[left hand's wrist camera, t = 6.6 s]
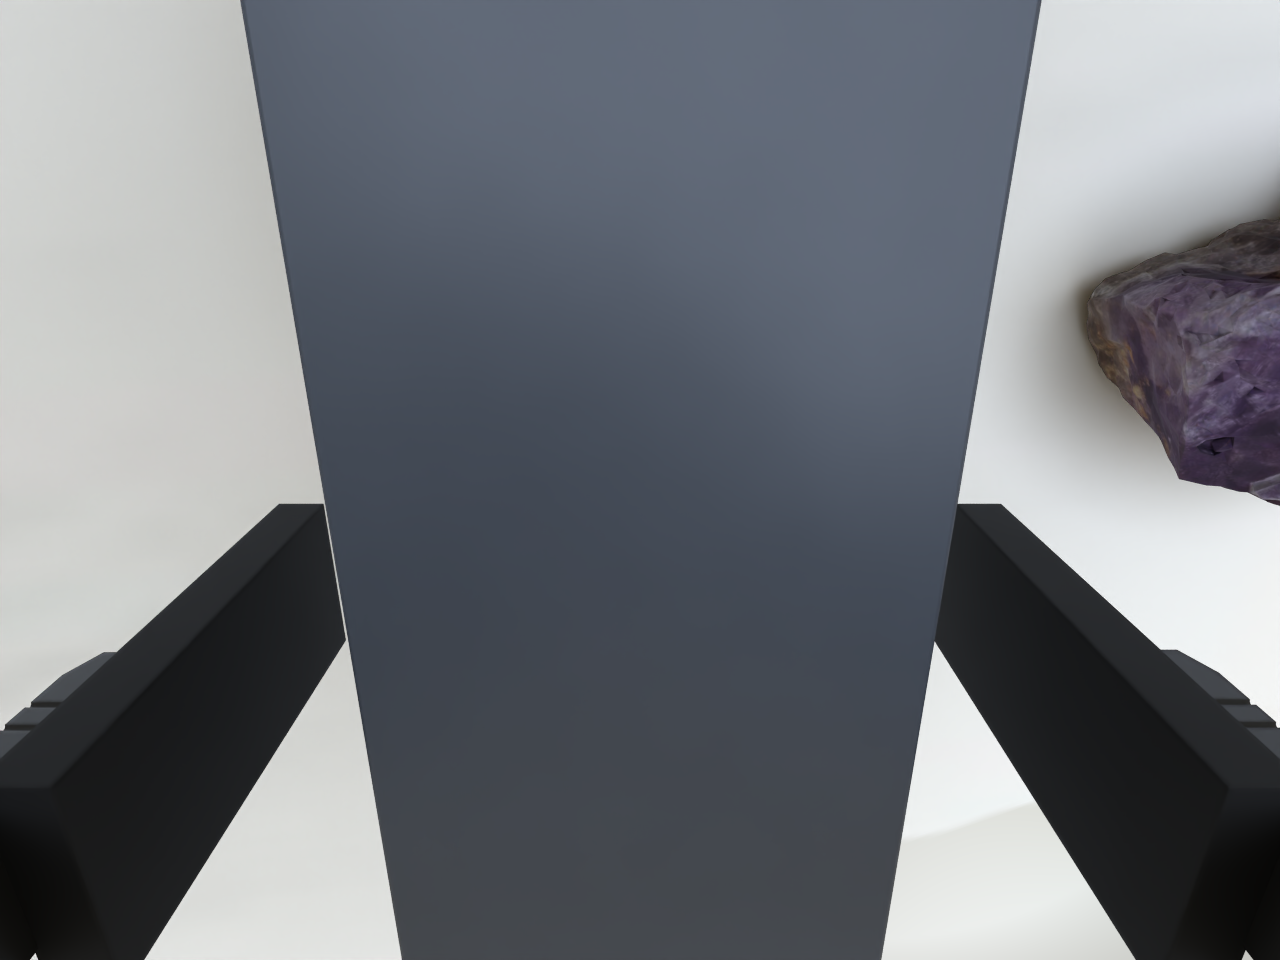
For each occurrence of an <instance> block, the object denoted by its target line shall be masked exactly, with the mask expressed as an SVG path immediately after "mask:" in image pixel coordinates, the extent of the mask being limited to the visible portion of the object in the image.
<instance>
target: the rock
mask: <svg viewBox="0 0 1280 960" xmlns="http://www.w3.org/2000/svg"><path fill="white" fill-rule="evenodd" d="M1087 305H1088V312H1089V316H1088V320H1087V331H1088V338H1089V341H1090V343H1091V345H1092V347H1093V348H1094V350H1095V352H1096V354H1097V358H1098V363H1099V365H1100V367H1101V368H1102V370H1103V372H1104V373H1105V375H1106V376H1107V378H1108V379H1109V380H1111V381H1112V382H1113V383H1114V384H1115V385H1117V386H1118V387H1119V389H1120V391H1121V394H1122V396H1123V398H1124V399H1125V400H1126V401H1127V402H1128V403H1129V404H1130V405H1131V406H1132V407H1133V408H1134V409H1135V410H1136V411H1137V412H1138V414H1139V415H1140V416H1141V417H1142V418H1143V419H1144V421H1145V422H1146V423H1147V424H1148V425H1149V426H1150V427H1151V428H1152V429H1153V430H1154V432H1155V433H1156V434H1157V435H1158V436H1159V438H1160V440H1161V442H1162V444H1163V446H1164V449H1165V451H1166V453H1167V456H1168V458H1169V460H1170V461H1171V463H1172V465H1173V466H1174V468H1175V471H1176V473H1177V475H1178V478H1179V479H1181V480H1186V481H1190V482H1194V483H1199V484H1203V485H1210V486H1221V487H1224V488H1227V489H1231V490H1235V491H1239V492H1248V493H1250V494H1252V495H1254V496H1256V497H1258V498H1260V499H1263V500H1265V501H1267V502H1270V503H1272V504H1275V505H1279V506H1280V219H1279V220H1259V221H1254V222H1249V223H1244V224H1239V225H1238V226H1236V227H1234V228H1233V229H1229V230H1227V231H1226V232H1224V233H1223V234H1221V235H1219V236H1218V237H1216V238H1215V239H1213V240H1211V242H1210V243H1209V244H1208V246H1207V247H1202V248H1197V249H1193V250H1190V251H1186V252H1183V253H1180V254H1176V255H1175V254H1170V253H1163V254H1160V255H1158V256H1156V257H1153V258H1151V259H1148V260H1146V261H1144V262H1142V263H1141V264H1139V265H1138V266H1136V267H1134V268H1133V269H1131V270H1130V271H1126V272H1122V273H1119V274H1117V275H1114V276H1111V277H1108V278H1106V279H1105V280H1104V281H1103V282H1102V283H1101V284H1100V285H1098V286H1097V287H1096V288H1095V290H1094V292H1093V293H1092V295H1091V297H1090V299H1089V301H1088V302H1087Z"/></svg>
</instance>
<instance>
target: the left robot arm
mask: <svg viewBox="0 0 1280 960" xmlns="http://www.w3.org/2000/svg"><path fill="white" fill-rule="evenodd" d="M345 641H346V638H345V632H344V626H343V620H342V613H341V607H340V601H339V595H338V589H337V583H336V577H335V571H334V565H333V559H332V553H331V546H330V540H329V534H328V528H327V522H326V516H325V510H324V504H278V505H277V506H276V507H275V508H274V509H273V510H272V511H271V512H270V513H269V514H268V515H266V516H265V517H264V518H263V519H262V520H261V521H260V522H259V523H258V524H257V525H255V526H254V527H253V528H252V529H251V530H250V531H249V532H248V533H247V534H246V535H245V536H243V537H242V538H241V539H240V540H239V541H238V542H237V543H236V544H235V545H234V546H232V547H231V548H230V549H229V550H228V551H227V552H226V553H225V554H224V555H223V556H222V557H220V558H219V559H218V560H217V561H216V562H215V563H214V564H213V565H212V566H211V567H209V568H208V569H207V570H206V571H205V572H204V573H203V574H202V575H201V576H200V577H199V578H197V579H196V580H195V581H194V582H193V583H192V584H191V585H190V586H189V587H188V588H187V589H185V590H184V591H183V592H182V593H181V594H180V595H179V596H178V597H177V598H176V599H174V600H173V601H172V602H171V603H170V604H169V605H168V606H167V607H166V608H165V609H164V610H162V611H161V612H160V613H159V614H158V615H157V616H156V617H155V618H154V619H153V620H151V621H150V622H149V623H148V624H147V625H146V626H145V627H144V628H143V629H142V630H141V631H139V632H138V633H137V634H136V635H135V636H134V637H133V638H132V639H131V640H130V641H128V642H127V643H126V644H125V645H124V646H123V647H122V648H121V649H120V650H119V651H118V652H104V653H102V654H100V655H98V656H96V657H94V658H93V659H91V660H89V661H87V662H85V663H84V664H82V665H80V666H78V667H76V668H75V669H73V670H71V671H69V672H67V673H65V674H64V675H62V676H61V677H60V678H58V679H57V680H56V681H55V682H54V683H53V684H52V685H50V686H49V687H48V688H47V689H46V690H45V691H43V692H42V693H41V694H40V695H39V696H38V697H37V698H35V699H34V700H33V701H32V702H31V707H30V708H24V709H23V710H22V711H20V712H19V713H18V714H17V715H16V716H15V717H13V718H12V719H11V720H10V721H9V722H8V723H7V724H5V729H4V731H0V960H30V959H31V958H32V956H33V955H34V954H35V953H36V955H37V958H38V960H144V959H145V958H146V956H147V955H148V953H149V951H150V950H151V948H152V947H153V945H154V943H155V942H156V940H157V939H158V937H159V935H160V934H161V932H162V931H163V929H164V928H165V926H166V924H167V923H168V921H169V920H170V918H171V916H172V915H173V913H174V912H175V910H176V909H177V907H178V905H179V904H180V902H181V901H182V899H183V897H184V896H185V894H186V893H187V891H188V890H189V888H190V886H191V885H192V883H193V882H194V880H195V878H196V877H197V875H198V874H199V872H200V871H201V869H202V867H203V866H204V864H205V863H206V861H207V859H208V858H209V856H210V855H211V853H212V852H213V850H214V848H215V847H216V845H217V844H218V842H219V840H220V839H221V837H222V836H223V834H224V833H225V831H226V829H227V828H228V826H229V825H230V823H231V821H232V820H233V818H234V817H235V815H236V814H237V812H238V810H239V809H240V807H241V806H242V804H243V802H244V801H245V799H246V798H247V796H248V795H249V793H250V791H251V790H252V788H253V787H254V785H255V783H256V782H257V780H258V779H259V777H260V775H261V774H262V772H263V771H264V769H265V768H266V766H267V764H268V763H269V761H270V760H271V758H272V756H273V755H274V753H275V752H276V750H277V749H278V747H279V745H280V744H281V742H282V741H283V739H284V737H285V736H286V734H287V733H288V731H289V730H290V728H291V726H292V725H293V723H294V722H295V720H296V718H297V717H298V715H299V714H300V712H301V711H302V709H303V707H304V706H305V704H306V703H307V701H308V699H309V698H310V696H311V695H312V693H313V692H314V690H315V688H316V687H317V685H318V684H319V682H320V680H321V679H322V677H323V676H324V674H325V673H326V671H327V669H328V668H329V666H330V665H331V663H332V661H333V660H334V658H335V657H336V655H337V654H338V652H339V650H340V649H341V647H342V646H343V644H344V642H345ZM935 642H936V644H937V646H938V647H939V649H940V650H941V652H942V654H943V655H944V657H945V658H946V660H947V661H948V663H949V665H950V666H951V668H952V669H953V671H954V673H955V674H956V676H957V677H958V679H959V680H960V682H961V684H962V685H963V687H964V688H965V690H966V692H967V693H968V695H969V696H970V698H971V699H972V701H973V703H974V704H975V706H976V707H977V709H978V711H979V712H980V714H981V715H982V717H983V718H984V720H985V722H986V723H987V725H988V726H989V728H990V730H991V731H992V733H993V734H994V736H995V738H996V739H997V741H998V742H999V744H1000V745H1001V747H1002V749H1003V750H1004V752H1005V753H1006V755H1007V757H1008V758H1009V760H1010V761H1011V763H1012V764H1013V766H1014V768H1015V769H1016V771H1017V772H1018V774H1019V776H1020V777H1021V779H1022V780H1023V782H1024V783H1025V785H1026V787H1027V788H1028V790H1029V791H1030V793H1031V795H1032V796H1033V798H1034V799H1035V801H1036V802H1037V804H1038V806H1039V807H1040V809H1041V810H1042V812H1043V813H1044V815H1045V817H1046V818H1047V820H1048V821H1049V823H1050V825H1051V826H1052V828H1053V829H1054V831H1055V833H1056V834H1057V836H1058V837H1059V839H1060V840H1061V842H1062V844H1063V845H1064V847H1065V848H1066V850H1067V851H1068V853H1069V855H1070V856H1071V858H1072V859H1073V861H1074V863H1075V864H1076V866H1077V867H1078V869H1079V871H1080V872H1081V874H1082V875H1083V877H1084V878H1085V880H1086V882H1087V883H1088V885H1089V886H1090V888H1091V890H1092V891H1093V893H1094V894H1095V896H1096V897H1097V899H1098V901H1099V902H1100V904H1101V905H1102V907H1103V909H1104V910H1105V912H1106V913H1107V915H1108V916H1109V918H1110V920H1111V921H1112V923H1113V924H1114V926H1115V928H1116V929H1117V931H1118V932H1119V934H1120V936H1121V937H1122V939H1123V940H1124V942H1125V943H1126V945H1127V947H1128V948H1129V950H1130V951H1131V953H1132V954H1133V956H1134V958H1135V959H1136V960H1242V958H1243V955H1244V953H1245V950H1246V951H1247V952H1248V953H1249V955H1250V956H1251V957H1252V959H1253V960H1280V728H1277V726H1276V722H1275V721H1274V720H1273V719H1272V718H1271V717H1270V716H1268V715H1267V714H1266V713H1265V712H1264V711H1263V710H1262V709H1260V708H1259V707H1258V706H1257V705H1251V704H1250V699H1249V698H1248V697H1246V696H1245V695H1244V694H1243V693H1242V692H1241V691H1239V690H1238V689H1237V688H1236V687H1235V686H1234V685H1232V684H1231V683H1230V682H1229V681H1228V680H1227V679H1226V678H1224V677H1223V676H1222V675H1221V674H1220V673H1218V672H1217V671H1215V670H1213V669H1211V668H1209V667H1208V666H1206V665H1204V664H1202V663H1200V662H1198V661H1197V660H1195V659H1193V658H1191V657H1189V656H1187V655H1186V654H1184V653H1182V652H1180V651H1178V650H1160V649H1159V648H1158V647H1157V646H1156V645H1155V644H1154V643H1153V642H1152V641H1150V640H1149V639H1148V638H1147V637H1146V636H1145V635H1144V634H1143V633H1142V632H1141V631H1139V630H1138V629H1137V628H1136V627H1135V626H1134V625H1133V624H1132V623H1131V622H1130V621H1129V620H1127V619H1126V618H1125V617H1124V616H1123V615H1122V614H1121V613H1120V612H1119V611H1118V610H1116V609H1115V608H1114V607H1113V606H1112V605H1111V604H1110V603H1109V602H1108V601H1107V600H1106V599H1104V598H1103V597H1102V596H1101V595H1100V594H1099V593H1098V592H1097V591H1096V590H1095V589H1093V588H1092V587H1091V586H1090V585H1089V584H1088V583H1087V582H1086V581H1085V580H1084V579H1083V578H1081V577H1080V576H1079V575H1078V574H1077V573H1076V572H1075V571H1074V570H1073V569H1072V568H1070V567H1069V566H1068V565H1067V564H1066V563H1065V562H1064V561H1063V560H1062V559H1061V558H1060V557H1058V556H1057V555H1056V554H1055V553H1054V552H1053V551H1052V550H1051V549H1050V548H1049V547H1047V546H1046V545H1045V544H1044V543H1043V542H1042V541H1041V540H1040V539H1039V538H1038V537H1037V536H1035V535H1034V534H1033V533H1032V532H1031V531H1030V530H1029V529H1028V528H1027V527H1026V526H1024V525H1023V524H1022V523H1021V522H1020V521H1019V520H1018V519H1017V518H1016V517H1015V516H1014V515H1012V514H1011V513H1010V512H1009V511H1008V510H1007V509H1006V508H1005V507H1004V506H1003V505H1002V504H957V509H956V515H955V521H954V527H953V533H952V539H951V545H950V551H949V557H948V563H947V569H946V575H945V581H944V587H943V593H942V599H941V605H940V611H939V617H938V623H937V629H936V635H935Z"/></svg>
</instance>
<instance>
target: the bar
mask: <svg viewBox="0 0 1280 960" xmlns="http://www.w3.org/2000/svg"><path fill="white" fill-rule="evenodd" d="M240 1H241V7H242V13H243V19H244V25H245V31H246V37H247V43H248V48H249V54H250V60H251V66H252V72H253V78H254V84H255V90H256V96H257V102H258V108H259V114H260V120H261V126H262V132H263V137H264V143H265V149H266V155H267V161H268V167H269V173H270V179H271V185H272V191H273V197H274V203H275V209H276V215H277V220H278V226H279V232H280V238H281V244H282V250H283V256H284V262H285V268H286V274H287V280H288V286H289V292H290V298H291V304H292V309H293V315H294V321H295V327H296V333H297V339H298V345H299V351H300V357H301V363H302V369H303V375H304V381H305V387H306V392H307V398H308V404H309V410H310V416H311V422H312V428H313V434H314V440H315V446H316V452H317V458H318V464H319V470H320V476H321V481H322V487H323V493H324V499H325V505H326V511H327V517H328V523H329V529H330V535H331V541H332V547H333V553H334V559H335V565H336V570H337V576H338V582H339V588H340V594H341V600H342V606H343V612H344V618H345V624H346V630H347V636H348V642H349V648H350V654H351V659H352V665H353V671H354V677H355V683H356V689H357V695H358V701H359V707H360V713H361V719H362V725H363V731H364V737H365V742H366V748H367V754H368V760H369V766H370V772H371V778H372V784H373V790H374V796H375V802H376V808H377V814H378V820H379V826H380V831H381V837H382V843H383V849H384V855H385V861H386V867H387V873H388V879H389V885H390V891H391V897H392V903H393V909H394V915H395V920H396V926H397V932H398V938H399V944H400V950H401V956H402V960H881V958H882V952H883V945H884V940H885V934H886V928H887V922H888V916H889V910H890V904H891V898H892V892H893V886H894V880H895V874H896V868H897V862H898V856H899V850H900V844H901V838H902V832H903V826H904V820H905V814H906V808H907V802H908V796H909V790H910V784H911V778H912V772H913V766H914V760H915V754H916V748H917V742H918V736H919V730H920V724H921V718H922V712H923V706H924V700H925V694H926V688H927V682H928V676H929V670H930V665H931V659H932V653H933V647H934V641H935V635H936V629H937V623H938V617H939V611H940V605H941V599H942V593H943V587H944V581H945V575H946V569H947V563H948V557H949V551H950V545H951V539H952V533H953V527H954V521H955V515H956V509H957V503H958V497H959V491H960V485H961V479H962V473H963V467H964V461H965V455H966V449H967V443H968V437H969V431H970V425H971V419H972V413H973V407H974V401H975V395H976V389H977V383H978V377H979V371H980V365H981V359H982V353H983V347H984V341H985V335H986V329H987V323H988V317H989V311H990V305H991V299H992V294H993V288H994V282H995V276H996V270H997V264H998V258H999V252H1000V246H1001V240H1002V234H1003V228H1004V222H1005V216H1006V210H1007V204H1008V198H1009V192H1010V186H1011V180H1012V174H1013V168H1014V162H1015V156H1016V150H1017V144H1018V138H1019V132H1020V126H1021V120H1022V114H1023V108H1024V102H1025V96H1026V90H1027V84H1028V78H1029V72H1030V66H1031V60H1032V54H1033V48H1034V42H1035V36H1036V30H1037V24H1038V18H1039V12H1040V6H1041V0H240Z"/></svg>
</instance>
